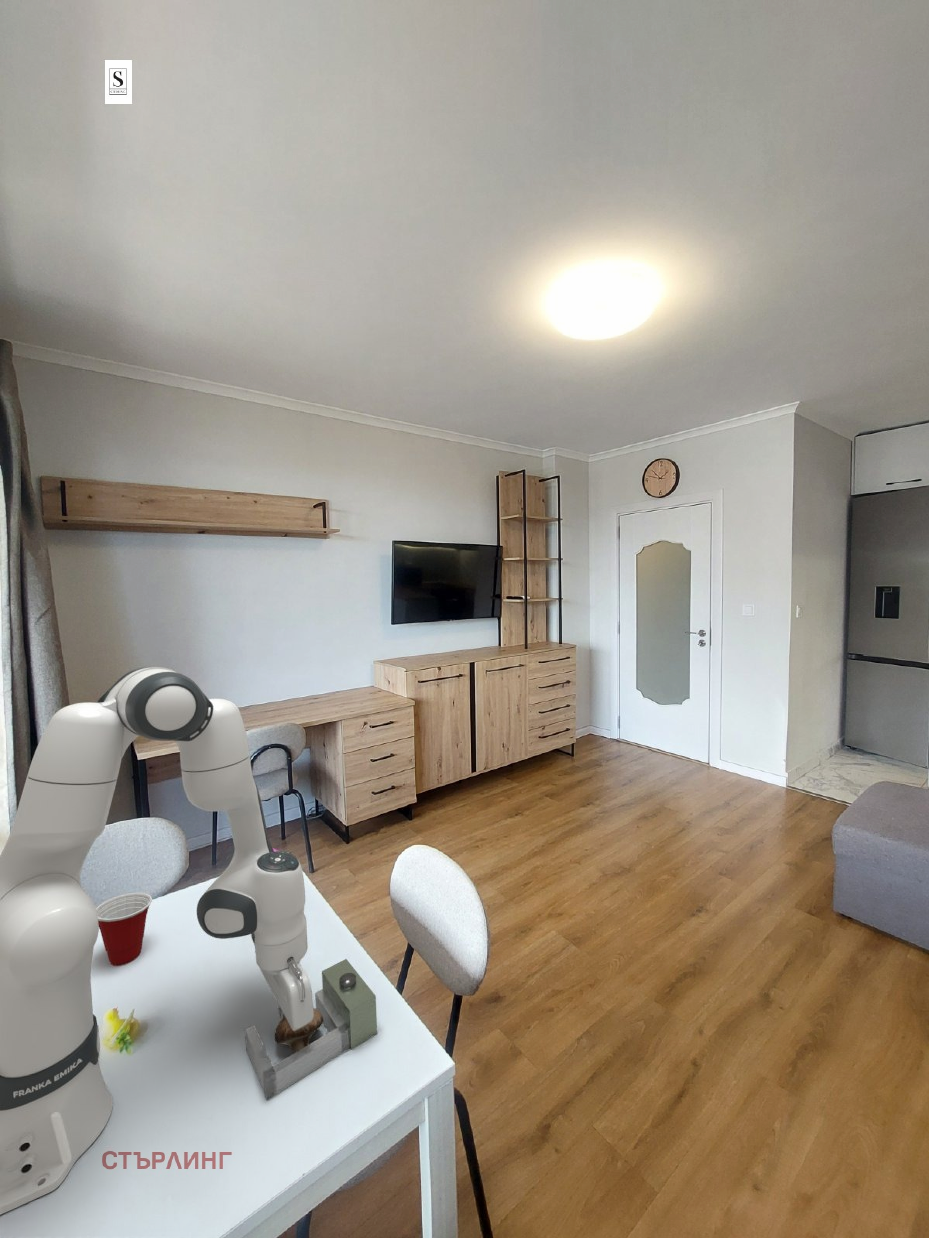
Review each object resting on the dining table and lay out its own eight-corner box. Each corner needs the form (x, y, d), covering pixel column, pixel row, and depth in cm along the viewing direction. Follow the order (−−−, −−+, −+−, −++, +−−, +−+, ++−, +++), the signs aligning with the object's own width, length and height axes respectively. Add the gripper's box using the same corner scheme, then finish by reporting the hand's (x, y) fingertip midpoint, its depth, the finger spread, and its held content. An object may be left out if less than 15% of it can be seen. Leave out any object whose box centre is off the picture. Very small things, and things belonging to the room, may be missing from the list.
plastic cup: (163, 952, 112) (159, 900, 112) (106, 982, 104) (102, 926, 103) (145, 933, 119) (141, 883, 119) (90, 959, 111) (86, 906, 110)
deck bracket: (268, 1102, 78) (265, 1054, 78) (246, 1049, 87) (244, 1006, 87) (377, 1033, 90) (375, 991, 89) (347, 992, 99) (346, 954, 99)
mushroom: (311, 1052, 83) (304, 1007, 86) (268, 1070, 83) (262, 1025, 86) (334, 1037, 90) (326, 996, 93) (293, 1054, 90) (287, 1013, 93)
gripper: (321, 968, 85) (324, 1046, 86) (281, 910, 101) (284, 977, 102) (283, 987, 81) (287, 1069, 82) (248, 924, 97) (251, 993, 98)
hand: (285, 1017), depth 92 cm, fingers closed
